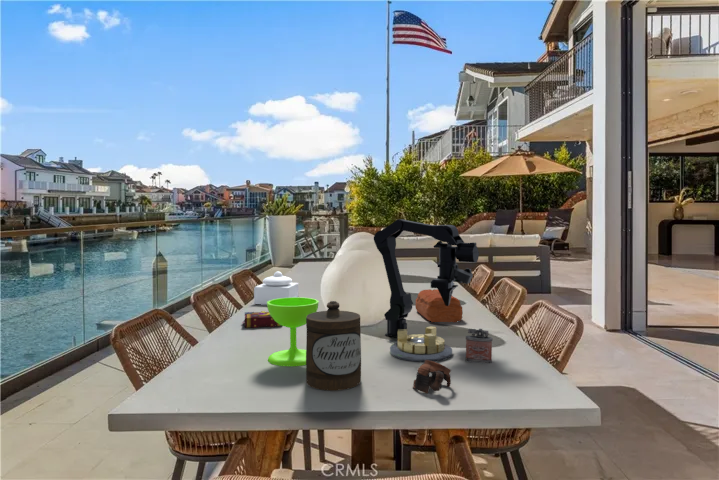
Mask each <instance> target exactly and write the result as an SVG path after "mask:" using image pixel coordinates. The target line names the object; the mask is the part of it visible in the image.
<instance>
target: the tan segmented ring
mask: <svg viewBox="0 0 719 480" xmlns="http://www.w3.org/2000/svg"><path fill="white" fill-rule="evenodd" d="M424 331H425V332H424V333H425V334H423V333H421V334H407V333H408V328H407V329H398V337H397V342H396V343H397V348H398V349H400V350H401V351H404V352H408V353H415V354H425V353H426V354H432V353H437V352H438V353H439V352H441V351H444V344H445V339H444V338H442V337H441V336H437V327H436V326H427V327H425V329H424ZM412 338H424V344H422V343H413V342H410V339H412Z"/></svg>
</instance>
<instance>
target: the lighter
mask: <svg viewBox="0 0 719 480" xmlns="http://www.w3.org/2000/svg"><path fill="white" fill-rule="evenodd" d="M467 334H471V335H465V360H464V361H465V362H470V363H475V364H492V363H493V358H492V356H493V355H492V353H493V352H492V351H493V347H492V346H493V343H492V342H493V337H491V336H489V330H484V329H483V328H479V329H475V328H468V329H467Z"/></svg>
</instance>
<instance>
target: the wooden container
mask: <svg viewBox="0 0 719 480" xmlns="http://www.w3.org/2000/svg"><path fill="white" fill-rule="evenodd" d="M326 308H327V310H320V311H317V312H314V313H311V314H309V315H307V317H306V324H305V325H306V348H305V350H306V365H305V371H306V372H305V374H306V375H305V382H306V384H307V385H308V386H309V387H310V388H313V389H316V390H321V391H328V392H329V391H330V392H333V391H334V392H335V391H345V390H350V389H352V388H355V387H357V386H358V385H360V383H361V382H362V343H361V341H362V340H361V339H362V338H361V334H362V333H361V315H360V314H359V313H358V312H355V311H349V310H348V311H347V310H340V309H339V308H340V303H339V302H338V301H336V300H330V301H329V302H328V303H327V304H326Z"/></svg>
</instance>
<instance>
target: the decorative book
mask: <svg viewBox="0 0 719 480" xmlns="http://www.w3.org/2000/svg"><path fill="white" fill-rule="evenodd" d="M242 323H244V328H247V329H248V328H252V329H259V328H266V327H269V328H275V327H283V326H282V325H280V324H279V323H277V322H276V321H275V320H274V319H273V318H272V317H271V315H270V313H269V311H266V310H263V311H260V312H254V311H246V312H244V320H243V321H242Z"/></svg>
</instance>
